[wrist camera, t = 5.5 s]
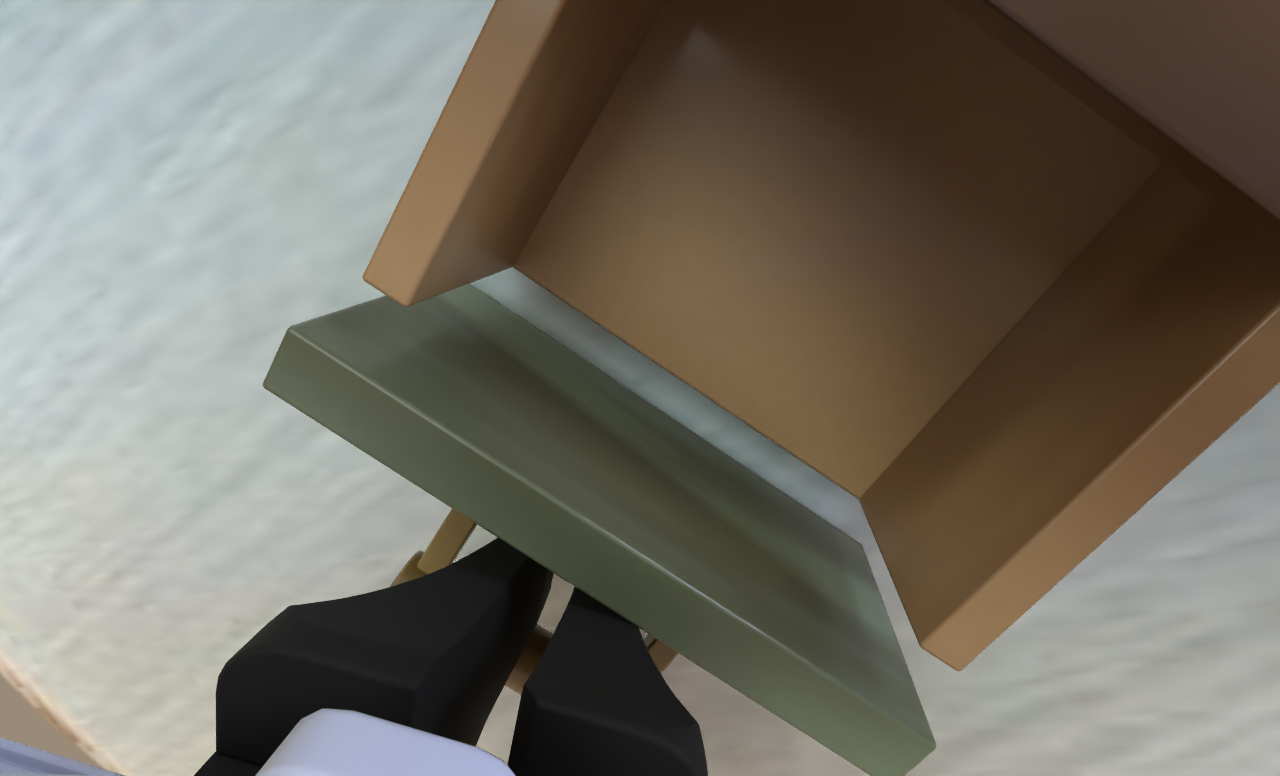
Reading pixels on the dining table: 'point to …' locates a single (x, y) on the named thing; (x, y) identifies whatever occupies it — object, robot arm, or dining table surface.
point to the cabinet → (1167, 82)
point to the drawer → (793, 333)
